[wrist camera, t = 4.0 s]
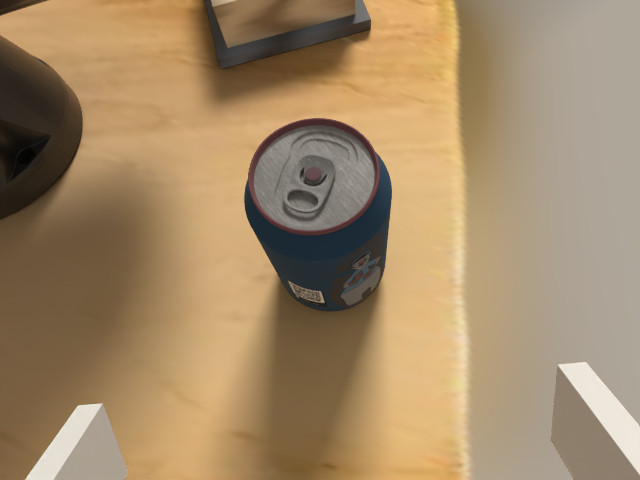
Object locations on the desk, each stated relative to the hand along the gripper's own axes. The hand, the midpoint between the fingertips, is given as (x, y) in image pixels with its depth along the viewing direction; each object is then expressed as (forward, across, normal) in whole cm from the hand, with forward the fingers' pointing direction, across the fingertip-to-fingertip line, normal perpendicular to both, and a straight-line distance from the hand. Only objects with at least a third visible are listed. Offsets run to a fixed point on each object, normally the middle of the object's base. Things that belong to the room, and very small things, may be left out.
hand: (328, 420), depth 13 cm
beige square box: (+36, -3, +15) cm, 39 cm away
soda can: (+18, 0, -3) cm, 18 cm away
